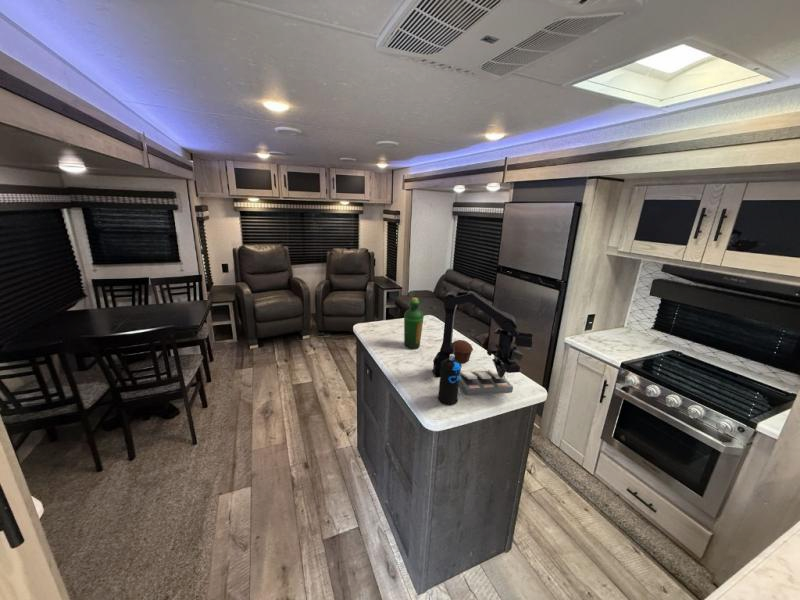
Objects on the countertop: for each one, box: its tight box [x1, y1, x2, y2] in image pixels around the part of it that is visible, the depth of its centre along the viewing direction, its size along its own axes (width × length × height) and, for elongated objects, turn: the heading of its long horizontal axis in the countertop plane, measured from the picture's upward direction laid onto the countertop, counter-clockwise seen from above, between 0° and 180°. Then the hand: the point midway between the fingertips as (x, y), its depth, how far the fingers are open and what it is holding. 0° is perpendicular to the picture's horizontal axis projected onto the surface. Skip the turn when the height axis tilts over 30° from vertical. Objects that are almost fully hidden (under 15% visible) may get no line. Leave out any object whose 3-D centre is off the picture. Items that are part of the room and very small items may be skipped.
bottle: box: [403, 297, 425, 350], centre depth 168 cm, size 11×11×28 cm
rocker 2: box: [474, 370, 491, 379], centre depth 138 cm, size 4×8×2 cm, turn 10°
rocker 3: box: [487, 368, 506, 379], centre depth 139 cm, size 4×8×2 cm, turn 10°
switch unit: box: [459, 370, 514, 396], centre depth 138 cm, size 21×14×3 cm, turn 100°
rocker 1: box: [460, 371, 477, 379], centre depth 137 cm, size 4×8×2 cm, turn 10°
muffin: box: [452, 339, 474, 364], centre depth 159 cm, size 12×11×10 cm
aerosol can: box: [437, 354, 463, 406], centre depth 123 cm, size 8×8×20 cm
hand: (500, 377), depth 136 cm, fingers closed
